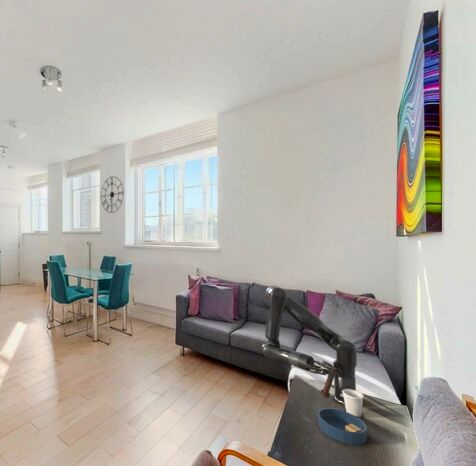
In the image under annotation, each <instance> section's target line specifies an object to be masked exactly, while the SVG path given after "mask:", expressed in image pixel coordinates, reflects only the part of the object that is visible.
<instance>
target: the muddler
mask: <svg viewBox="0 0 476 466" xmlns="http://www.w3.org/2000/svg"><path fill="white" fill-rule="evenodd" d="M330 370H333V371H336V370H337V369H336V368H335V367H331V368H330ZM333 383H334V376H332V375H327V377H326V380H325V384H324V386H323V389H321V390H320V392H319V393H320V395H321V396H322V397H324V398H326V399H329V398H330V396H331V393H330V390H331V387H332V386H333V385H332V384H333Z"/></svg>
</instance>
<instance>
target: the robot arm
mask: <svg viewBox="0 0 476 466" xmlns="http://www.w3.org/2000/svg"><path fill="white" fill-rule="evenodd" d="M265 296H266V298H267V299H268V300H269V301H270V310H269V315H268V317H267V320H266V324H265V331H264V336H265V339H267V341H268V343H264V344H262V345H261V346H260V352H261V354H262V355H263V356H264V357H265V358H267V359H271V360H275V361H281V362H284V363H286V364H288V365H291V366H293V367H295V368H298V369H300V370H303V371H306V372H309V373H312V374H314V375H315V374H316V375H320V376H326V375H327V376H328V375H332V376H334V379H333V388H334V389H333V390H334V391H333V392H334V397H333V398H334V400H335V401H336V402H338V403H339V404H342V405H344V406H345V401H344V396H343V392H342V390H344V389H351V390H355V391H357V381H356V379H357V378H356V367H357V365H358V352H357V347H356V345H355V343H353V342H352V341H351V340H348V338H346V337H343V336H342V335H340V334H339V333H337V332H335V331H334V330H332V329H331V328H330V327H329V326H328V325H326V323H325V322H324V321H323V320H322V319H321V318H320V317H319V316H318V315H316V314H315V313H314V312H313V311H311V310H310V309H309V308H307V307H305V306H304V305H302V304H301V303H299V302H297V301H295V300H294V299H292V297H290V296H289V295H288V294H287V292H286V290H285V289H283V288H282V287H280V286H277V285H270V286H268V287H267V288H266V290H265ZM284 311H285V312H286V313H287V314H288V315H289V316H290V317H291V318H292V319H293V320H295V322H297V323H298V324H299V325H301V326H302V327H303V328H304V329H306V330H307V331H309V332H310V333H312V334H313V335H314V336H316V337H318V338H320V339H321V340H322V341H323V342H324V343H325V344H326V345H327V346H328V347H329V348H330V349H331V350H332V351H334V352H335V353H336V359H335V360H333V361H332V364H333V365H332V364H331V363H329V362H328V361H325V360H322V362H321V361H319V360H315V359H314V357H313V356H312V355H309V354H305V353H302V352H300V351H295V350H292V349H289V348H285V347H281V344H280V343H281V342H280V333H281V332H280V331H281V324H282V323H281V322H282V318H283V312H284ZM331 367H335V368H336V369H337V370H336V371H333V370H330V368H331Z"/></svg>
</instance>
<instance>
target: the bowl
mask: <svg viewBox="0 0 476 466" xmlns="http://www.w3.org/2000/svg"><path fill="white" fill-rule="evenodd" d="M350 424H353V425H355V426H356V427H358V428H360V429H361V430H362V431H360V432H349V431H346V427H345V426H347V425H350ZM317 425H318V428H319V429H320V430H321V432H323V433H324V434H325V435H327V437H329V438H332V439H333V440H336V441H338V442H340V443H343V444H348V445H350V446H351V445H352V446H353V445H354V446H360V445H365V444H366V443H367V442H368V425H366V423H365V422H364V420H362V419H361V418H360V417H359V416H355V415H353V414H350V413H348V412H346V410H342V409H338V408H334V407H324V408H320V409H318V411H317Z"/></svg>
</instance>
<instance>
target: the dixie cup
mask: <svg viewBox="0 0 476 466" xmlns="http://www.w3.org/2000/svg"><path fill="white" fill-rule="evenodd" d="M342 392H343V396H344V401H345V405H344V406H345V411H346V412H348V413H350V414H353V415H355V416H356V417H358V418H361V417H362V413H363V404H364V403H363V402H364V398H365V396H364V395H363V393H361V392H359V391H357V390H356V391H355V390H351V389H344V390H342Z"/></svg>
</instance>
